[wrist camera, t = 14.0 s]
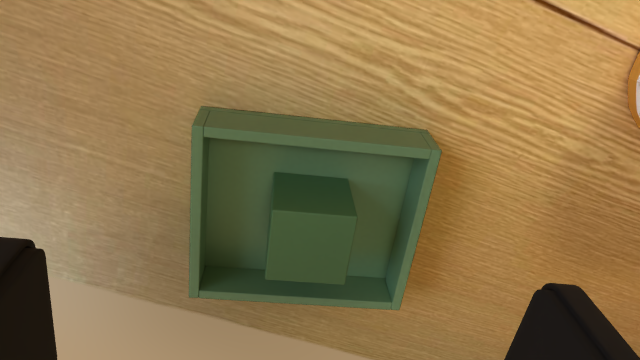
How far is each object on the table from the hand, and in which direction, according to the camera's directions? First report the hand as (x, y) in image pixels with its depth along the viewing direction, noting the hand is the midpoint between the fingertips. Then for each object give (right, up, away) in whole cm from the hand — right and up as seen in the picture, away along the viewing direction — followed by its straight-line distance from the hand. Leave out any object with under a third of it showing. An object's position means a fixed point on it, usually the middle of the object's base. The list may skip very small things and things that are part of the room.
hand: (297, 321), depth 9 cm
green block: (0, +1, +21) cm, 21 cm away
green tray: (0, +1, +21) cm, 21 cm away
